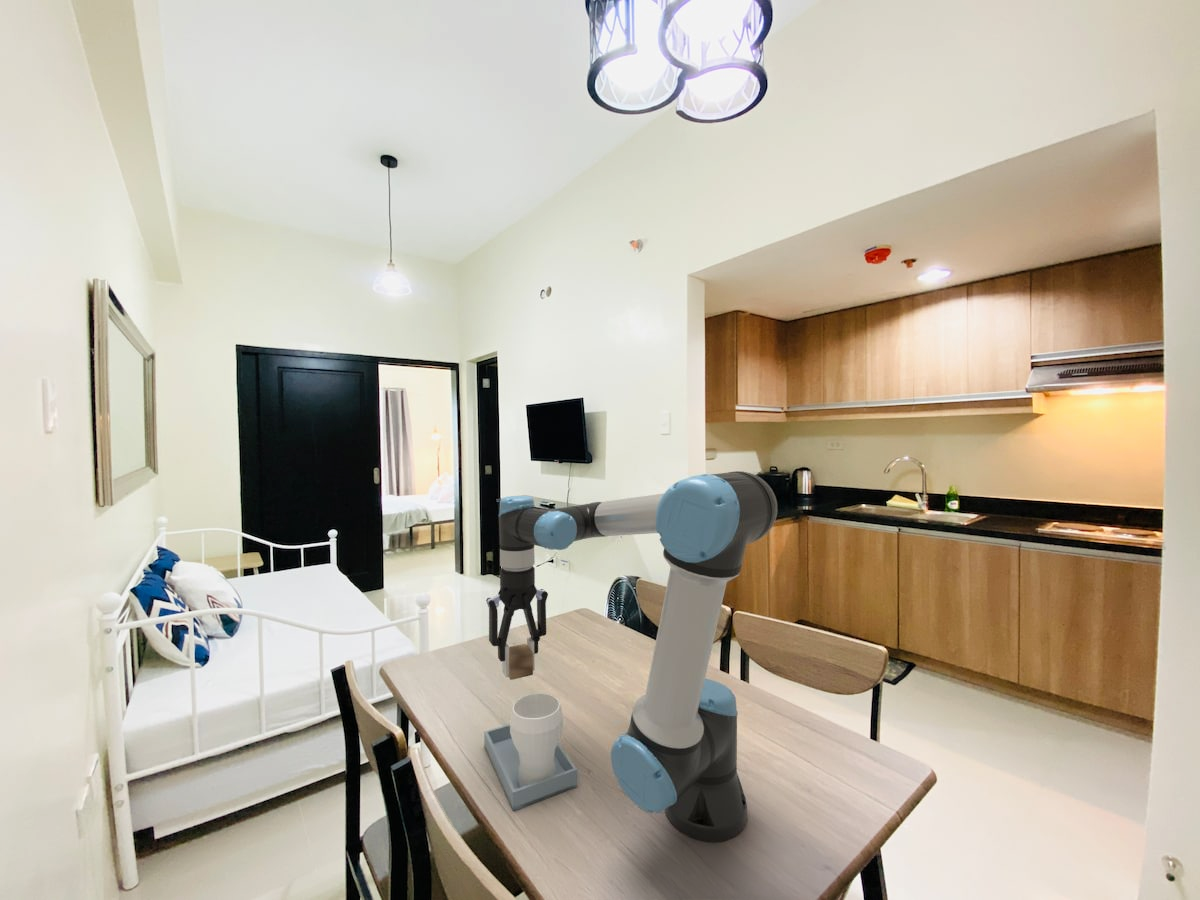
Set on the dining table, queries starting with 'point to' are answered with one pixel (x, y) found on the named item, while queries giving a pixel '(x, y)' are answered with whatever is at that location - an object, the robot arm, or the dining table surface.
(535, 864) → the dining table surface
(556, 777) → the tray
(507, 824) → the dining table surface
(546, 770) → the cup
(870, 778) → the dining table surface
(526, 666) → the walnut cube
